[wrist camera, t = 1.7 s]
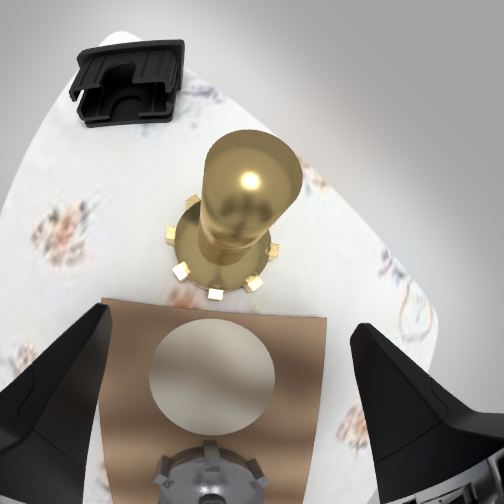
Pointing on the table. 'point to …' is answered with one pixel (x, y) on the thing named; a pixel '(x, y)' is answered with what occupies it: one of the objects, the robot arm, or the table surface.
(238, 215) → the gear
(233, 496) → the sun gear
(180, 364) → the carrier board
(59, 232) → the table surface
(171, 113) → the end cap
